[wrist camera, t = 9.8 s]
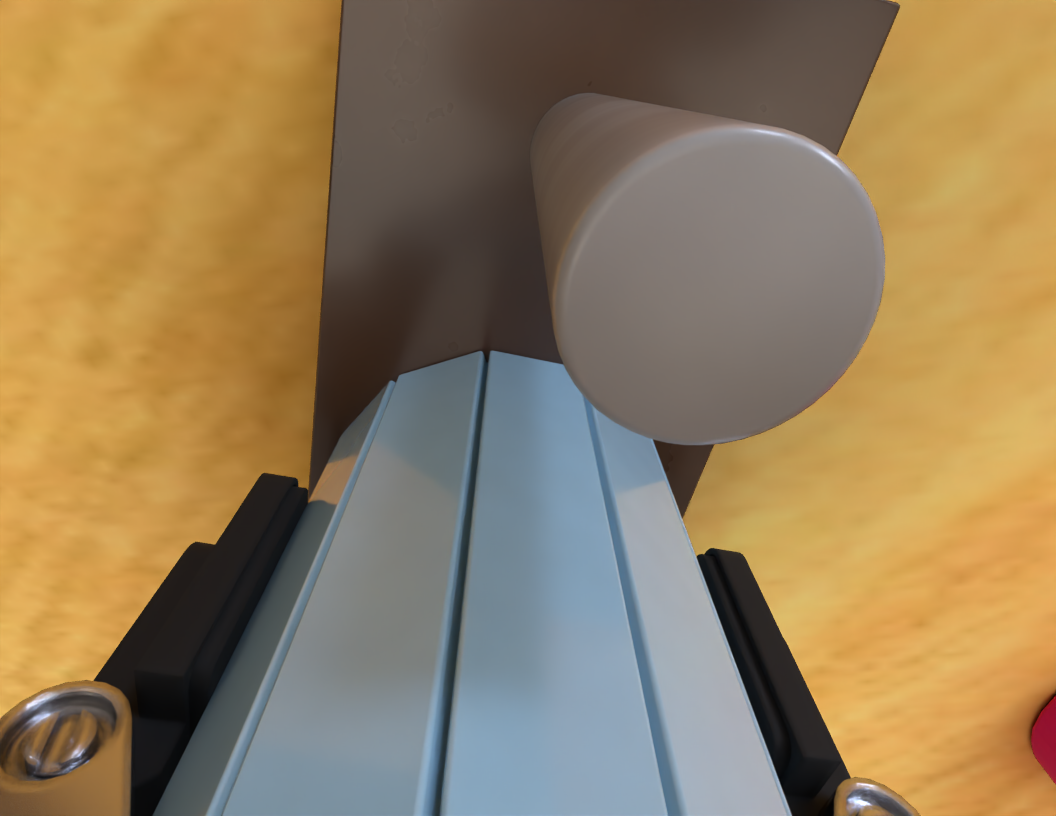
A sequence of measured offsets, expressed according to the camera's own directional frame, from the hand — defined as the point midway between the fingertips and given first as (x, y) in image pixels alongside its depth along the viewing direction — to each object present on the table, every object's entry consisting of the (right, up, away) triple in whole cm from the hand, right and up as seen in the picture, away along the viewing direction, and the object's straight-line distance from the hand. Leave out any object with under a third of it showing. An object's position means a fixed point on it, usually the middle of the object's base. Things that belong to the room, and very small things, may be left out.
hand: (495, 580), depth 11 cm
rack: (0, +2, +3) cm, 4 cm away
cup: (0, +1, +2) cm, 2 cm away
